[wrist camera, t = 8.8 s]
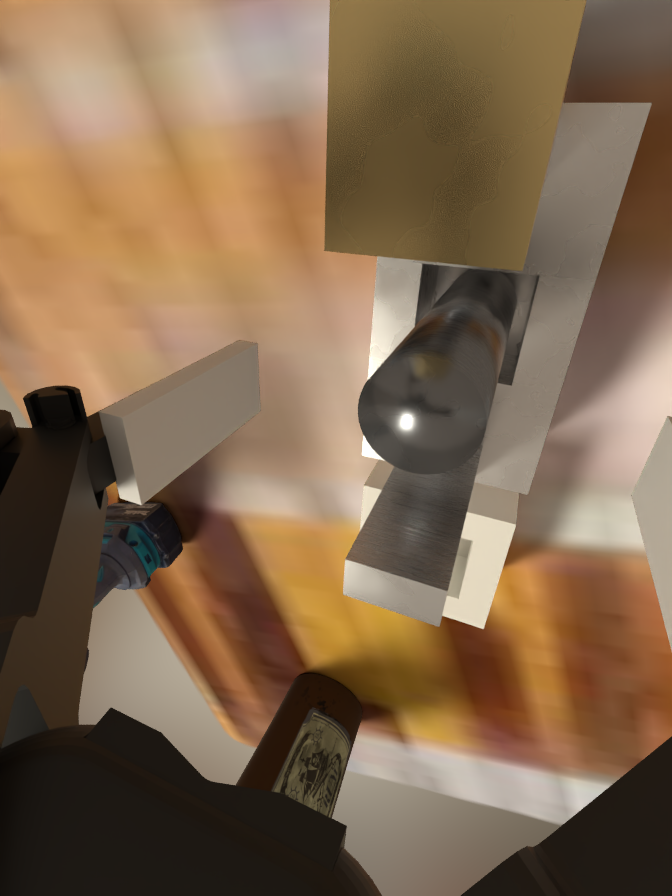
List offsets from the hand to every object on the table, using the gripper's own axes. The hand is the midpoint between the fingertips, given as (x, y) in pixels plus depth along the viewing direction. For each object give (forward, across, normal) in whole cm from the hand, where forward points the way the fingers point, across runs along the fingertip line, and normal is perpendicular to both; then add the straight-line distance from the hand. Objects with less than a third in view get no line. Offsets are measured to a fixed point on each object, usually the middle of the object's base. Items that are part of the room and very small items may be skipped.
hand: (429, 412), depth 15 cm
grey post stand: (+17, 0, 0) cm, 17 cm away
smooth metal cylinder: (+15, 0, 0) cm, 15 cm away
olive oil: (+18, -9, -50) cm, 53 cm away
